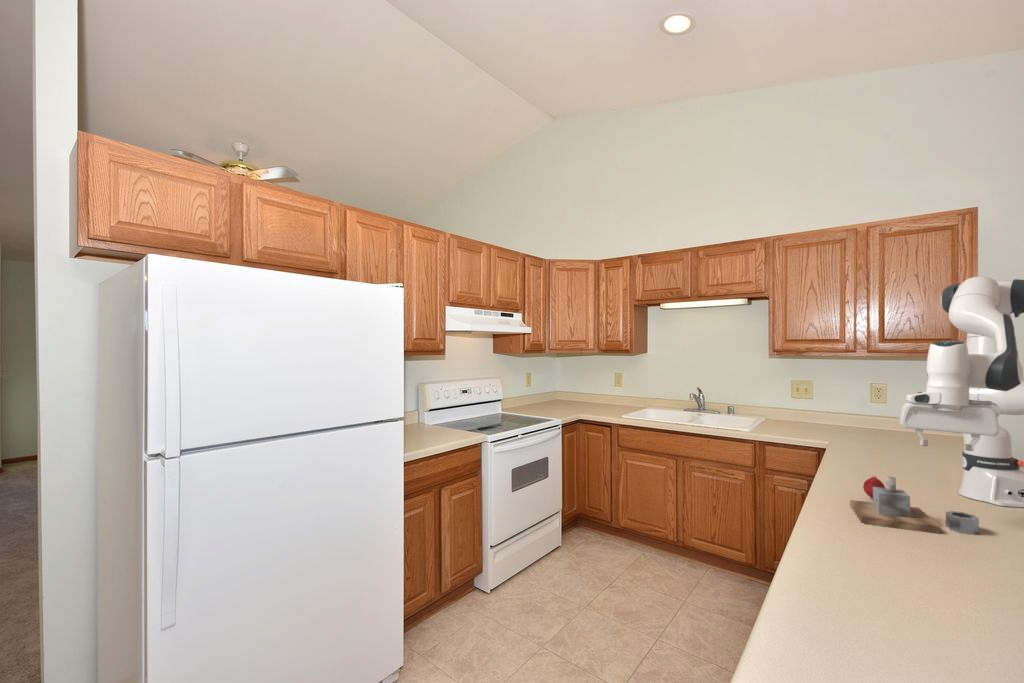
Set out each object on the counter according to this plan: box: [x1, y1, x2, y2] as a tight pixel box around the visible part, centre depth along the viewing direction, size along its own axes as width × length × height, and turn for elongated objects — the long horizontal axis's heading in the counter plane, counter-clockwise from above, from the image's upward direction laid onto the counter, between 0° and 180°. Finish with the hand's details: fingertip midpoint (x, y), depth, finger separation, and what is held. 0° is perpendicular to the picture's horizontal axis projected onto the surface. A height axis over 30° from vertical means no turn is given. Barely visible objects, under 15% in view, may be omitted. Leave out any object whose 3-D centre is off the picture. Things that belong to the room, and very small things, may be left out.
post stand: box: [849, 476, 941, 534], centre depth 136 cm, size 17×16×12 cm
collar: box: [945, 510, 980, 535], centre depth 127 cm, size 6×6×4 cm
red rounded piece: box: [862, 474, 885, 500], centre depth 153 cm, size 6×6×8 cm
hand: (946, 448), depth 129 cm, fingers open, 8 cm apart
